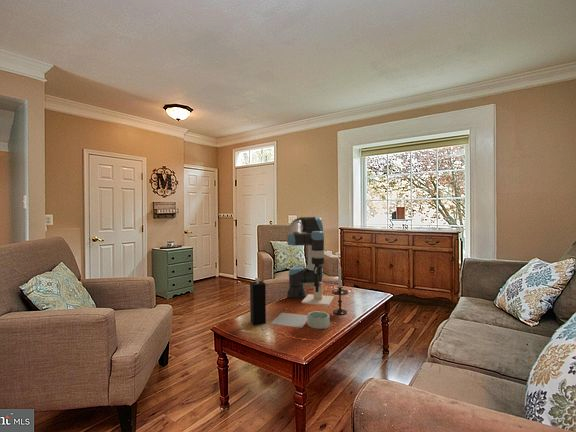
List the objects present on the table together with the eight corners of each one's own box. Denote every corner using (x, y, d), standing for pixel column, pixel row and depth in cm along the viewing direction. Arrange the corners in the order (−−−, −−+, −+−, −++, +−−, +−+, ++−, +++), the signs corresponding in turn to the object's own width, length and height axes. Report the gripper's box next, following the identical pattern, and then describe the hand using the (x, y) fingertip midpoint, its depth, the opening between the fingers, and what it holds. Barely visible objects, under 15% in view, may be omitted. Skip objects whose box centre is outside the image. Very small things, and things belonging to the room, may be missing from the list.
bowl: (310, 319, 186) (310, 310, 185) (331, 322, 181) (331, 312, 181) (305, 327, 173) (305, 317, 173) (327, 330, 169) (326, 320, 169)
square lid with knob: (308, 295, 187) (308, 278, 187) (333, 297, 182) (333, 280, 182) (301, 303, 172) (301, 284, 172) (328, 305, 167) (328, 286, 166)
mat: (281, 313, 198) (281, 312, 198) (310, 316, 191) (310, 315, 191) (270, 324, 179) (270, 323, 179) (301, 328, 172) (301, 327, 172)
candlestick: (348, 315, 192) (347, 262, 191) (331, 314, 194) (330, 261, 193) (348, 310, 202) (347, 259, 201) (332, 309, 204) (331, 259, 204)
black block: (250, 321, 184) (249, 277, 183) (262, 320, 186) (261, 275, 186) (253, 326, 176) (252, 279, 176) (266, 324, 179) (265, 278, 178)
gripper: (314, 254, 185) (315, 292, 186) (308, 259, 170) (308, 299, 170) (326, 255, 183) (327, 293, 183) (321, 259, 167) (321, 300, 168)
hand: (318, 296), depth 177 cm, fingers closed on square lid with knob, 3 cm apart
